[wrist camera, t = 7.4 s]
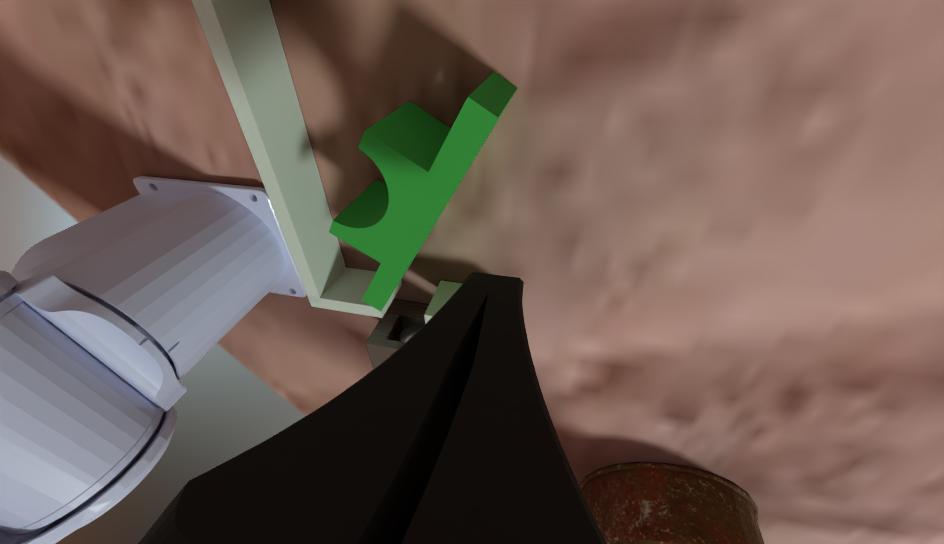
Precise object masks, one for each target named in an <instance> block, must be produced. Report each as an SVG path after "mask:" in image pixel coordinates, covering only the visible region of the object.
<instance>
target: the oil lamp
mask: <svg viewBox="0 0 944 544" xmlns="http://www.w3.org/2000/svg"><path fill="white" fill-rule="evenodd" d="M580 490H581V492H582V494H583V496H584V498H585V500H586V502H587V504H588V506H589V509H590V511H591V513H592V515H593V517H594V519H595V521H596V523H597V525H598V527H599V529H600V531H601V533H602V535H603V537H604V539H605V541H606V543H607V544H764V541H763V538H762V535H761V532H760V529H759V526H758V523H757V519H758V508H757V506H756V505H755V503H754V502H753V500H752V499H751V497H750V496H749V495H748V494H747V493H746V492H744V491H743V490H742V489H740V488H739V487H738V486H736V485H735V484H734V483H732V482H729V481H727V480H725V479H723V478H721V477H718V476H716V475H714V474H711V473H708V472H704V471H700V470H697V469H693V468H690V467H685V466H678V465H671V464H665V463H642V462H636V463H627V464H617V465H613V466H609V467H606V468H602V469H599V470H597V471H595V472H593V473H592V474H590V475H588V476H587V477H586V478H585V480H584V481H583V482H582V484H581V485H580Z"/></svg>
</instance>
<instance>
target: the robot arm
mask: <svg viewBox="0 0 944 544" xmlns="http://www.w3.org/2000/svg"><path fill="white" fill-rule="evenodd" d="M133 183H134V185H135V187H136V189H137V190H138V192H139V193H140V194H139V195H137V196H135V197H133V198H131V199H129V200H127V201H125V202H122V203H120V204H118V205H116V206H114V207H112V208H110V209H108V210H105V211H103V212H101V213H99V214H97V215H95V216H93V217H91V218H88V219H86V220H84V221H82V222H80V223H78V224H76V225H74V226H71V227H69V228H67V229H65V230H63V231H61V232H59V233H56V234H54V235H52V236H50V237H48V238H46V239H44V240H42V241H41V242H39V243H37V244H35V245H34V246H33V247H31V248H30V249H29V250H28V251H27V252H25V254H24V255H23V256H22V257H21V258H20V259H19V261H18V262H17V264H16V265H15V267H14V269H13V271H12V273H11V274H10V273H8V272H6V271H0V544H55V543H57V542H58V541H60V540H61V539H63V538H64V537H65V536H67V535H69V534H70V533H72V532H73V531H75V530H76V529H79V528H81V527H83V526H84V525H86V524H88V523H90V522H91V521H93V520H95V519H96V518H98V517H99V516H101V515H102V514H104V513H105V512H106V511H108V510H109V509H110V508H112V507H113V506H114V505H116V504H117V503H118V502H119V501H121V500H122V499H123V498H124V497H125V496H126V495H127V494H129V492H131V491H132V490H133V489H134V488H135V487H136V486H137V485H138V484H139V483H140V482H141V481H142V480H143V479H144V478H145V477H146V475H147V474H148V473H149V472H150V471H151V470H152V468H153V467H154V466H155V464H156V463H157V462H158V461H159V459H160V458H161V456H162V455H163V453H164V452H165V450H166V448H167V446H168V444H169V442H170V440H171V437H172V434H173V431H174V429H175V426H176V422H177V411H176V410H175V408H174V406H173V405H174V403H175V402H176V401H177V400H178V399H179V398H180V397H181V396H182V395H183V394H184V393H185V392H186V391H187V389H186V388H185V387H184V386H183V385H182V384H181V383H180V382H179V381H178V380H179V379H180V378H181V377H183V376H184V374H186V372H188V371H189V370H190V369H191V368H192V367H193V366H194V365H195V364H196V363H197V362H198V361H199V360H200V359H201V358H202V357H203V356H204V355H205V354H206V353H207V352H208V351H209V350H210V349H211V348H212V347H213V346H214V345H215V344H216V343H217V342H218V341H219V340H220V339H221V338H222V337H223V336H225V335H226V334H227V333H228V332H229V331H230V330H231V329H232V328H233V327H234V326H235V325H236V324H237V323H238V322H239V321H240V320H241V319H242V318H243V317H244V316H245V315H246V314H247V313H248V312H249V311H250V310H251V309H252V308H253V307H254V306H255V305H256V304H257V303H258V302H259V301H260V300H261V299H262V298H263V297H264V296H266V295H267V294H268V293H269V292H271V293H277V294H283V295H289V296H296V297H305V296H306V295H307V294H306V291H305V288H304V286H303V283H302V281H301V278H300V276H299V273H298V271H297V268H296V266H295V263H294V260H293V258H292V255H291V253H290V250H289V248H288V245H287V243H286V240H285V237H284V235H283V232H282V230H281V227H280V225H279V222H278V220H277V217H276V215H275V212H274V209H273V207H272V204H271V202H270V199H269V197H268V194H267V192H266V189H265V188H261V187H250V186H240V185H230V184H219V183H209V182H199V181H188V180H178V179H168V178H157V177H147V176H138V177H136V178H134V179H133ZM254 195H255V196H256V197H257V198H256V197H255V196H254ZM523 283H524V282H523V281H522V280H521V279H520V278H515V277H507V276H499V275H491V274H483V273H475V272H473V273H472V274H471V275H469V277H468V278H467V279H466V280H465V281H464V283H463V284H462V285H461V286H460V287H459V289H458V290H457V291H456V292H455V293H454V294H453V295H452V296H451V298H450V299H449V300H448V301H447V302H446V303H445V304H444V305H443V306H442V307H441V308H440V309H439V310H438V311H437V313H436V314H435V315H434V316H433V317H432V318H431V319H430V320H429V321H428V322H427V323H426V324H425V325H424V326H423V327H422V328H421V329H420V330H419V331H417V332H416V333H415V334H414V335H413V336H412V337H411V338H410V339H409V340H408V341H407V342H406V343H404V344H403V345H402V346H401V347H400V348H399V349H398V350H397V351H396V352H394V353H393V354H392V355H391V356H390V357H388V358H387V359H386V360H385V361H384V362H382V363H381V364H380V365H379V366H377V367H376V368H375V369H374V370H372V371H371V372H370V373H368V374H367V375H366V376H365V377H363V378H362V379H360V380H359V381H358V382H356V383H355V384H353V385H352V386H351V387H349V388H348V389H346V390H345V391H344V392H342V393H341V394H340V395H338V396H337V397H335V398H334V399H332V400H331V401H329V402H328V403H326V404H325V405H323V406H322V407H320V408H319V409H317V410H315V411H314V412H312V413H310V414H309V415H307V416H306V417H304V418H302V419H301V420H299V421H297V422H296V423H294V424H293V425H291V426H289V427H288V428H286V429H285V430H283V431H281V432H279V433H278V434H276V435H274V436H273V437H271V438H269V439H268V440H266V441H264V442H262V443H260V444H259V445H257V446H255V447H253V448H251V449H249V450H247V451H245V452H243V453H242V454H240V455H238V456H236V457H234V458H232V459H230V460H228V461H226V462H225V463H223V464H221V465H219V466H217V467H215V468H213V469H211V470H210V471H208V472H206V473H204V474H202V475H200V476H198V477H196V478H194V479H192V480H190V481H189V482H188V483H187V484H186V485H185V486H184V487H183V489H182V490H181V491H180V492H179V493H178V495H177V496H176V497H175V498H174V499H173V500H172V502H171V503H170V504H169V505H168V507H167V508H166V509H165V510H164V512H163V513H162V514H161V515H160V517H159V518H158V519H157V520H156V522H155V523H154V524H153V526H152V527H151V528H150V529H149V531H148V532H147V533H146V534H145V536H144V537H143V538H142V539H141V541H140V542H139V543H138V544H607V543H606V541H605V539H604V537H603V535H602V533H601V531H600V529H599V527H598V525H597V523H596V521H595V519H594V517H593V515H592V513H591V511H590V509H589V506H588V504H587V502H586V500H585V498H584V496H583V494H582V492H581V490H580V487H579V485H578V483H577V481H576V478H575V476H574V474H573V471H572V469H571V467H570V464H569V462H568V460H567V457H566V455H565V453H564V451H563V448H562V446H561V444H560V441H559V439H558V436H557V434H556V431H555V428H554V426H553V423H552V420H551V418H550V415H549V412H548V410H547V407H546V404H545V401H544V398H543V395H542V392H541V389H540V386H539V382H538V379H537V376H536V372H535V368H534V365H533V361H532V357H531V353H530V349H529V345H528V339H527V334H526V329H525V324H524V317H523V307H522V296H523Z"/></svg>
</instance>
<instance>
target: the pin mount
mask: <svg viewBox="0 0 944 544" xmlns="http://www.w3.org/2000/svg"><path fill="white" fill-rule="evenodd" d="M428 306H429V304H423V303H417V302H410V301H403V300H397V299H393V301H392V302H391V304H390V306H389V307H388V309H387V311H386V312H385V314H384V316H383V317H382V318H381V319H380V321H379V323H378V324H377V326H376V327H375V329H374V331H373V332H372V334H371V336H370V337H369V339H368V341H367V342H366V346H367V349H368V353H369V356H370V360H371V363H372V366H373V370H374V369H375V368H376V367H377V366H379V365H380V364H381V363H382V362H384V361H385V360H386V359H387V358H388V357H390V356H391V355H392V354H393V353H394V352H396V351H397V350H398V349H399V348H400V347H401V346H402V345H403V344H404V342H400V334H401V332H402V331H403V330H404V329H406V328H408V327H411V326H419V327H421V328H422V327H423V326H424V325H425V316H424V314H425V312H426V310H427V308H428Z"/></svg>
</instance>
